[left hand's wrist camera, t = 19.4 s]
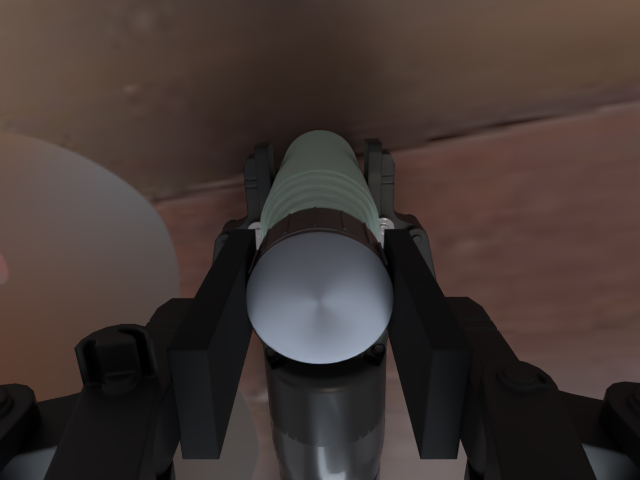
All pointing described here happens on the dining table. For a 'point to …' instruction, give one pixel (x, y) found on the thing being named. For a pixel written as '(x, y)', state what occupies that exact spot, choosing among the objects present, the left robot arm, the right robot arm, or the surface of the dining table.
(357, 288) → the cap
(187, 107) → the dining table surface
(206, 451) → the left robot arm
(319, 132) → the bottle
